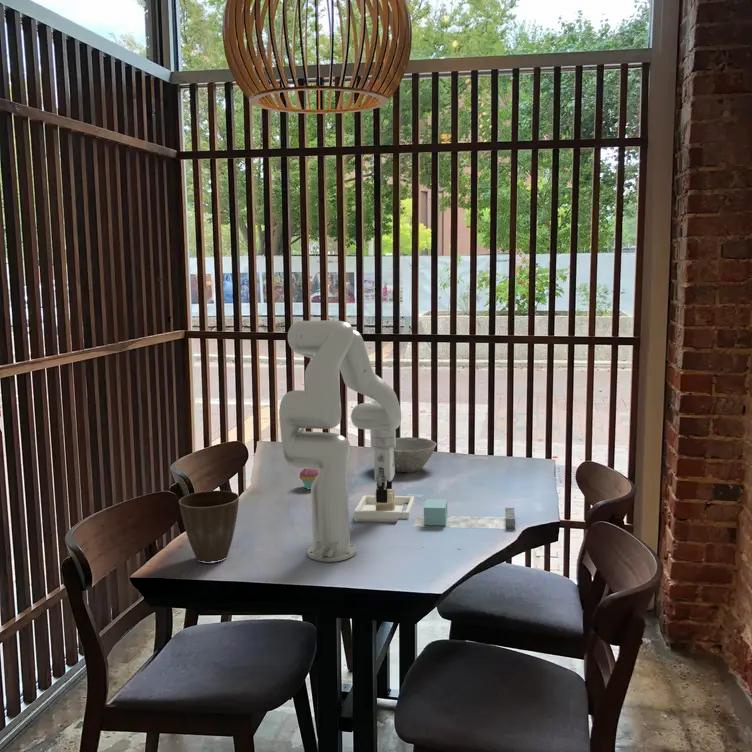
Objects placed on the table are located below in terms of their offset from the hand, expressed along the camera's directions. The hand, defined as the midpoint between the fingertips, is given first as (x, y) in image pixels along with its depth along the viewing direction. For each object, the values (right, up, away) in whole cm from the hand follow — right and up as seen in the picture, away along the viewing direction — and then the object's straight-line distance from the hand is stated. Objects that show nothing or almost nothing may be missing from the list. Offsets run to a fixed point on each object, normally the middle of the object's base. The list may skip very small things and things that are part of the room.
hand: (384, 497), depth 224 cm
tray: (0, -5, +1) cm, 5 cm away
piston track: (+22, -6, -13) cm, 26 cm away
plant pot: (-44, -11, -32) cm, 56 cm away
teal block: (+15, -5, -11) cm, 19 cm away
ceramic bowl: (+8, +2, +51) cm, 52 cm away
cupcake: (-24, -2, +31) cm, 39 cm away
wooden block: (0, -4, +1) cm, 4 cm away
